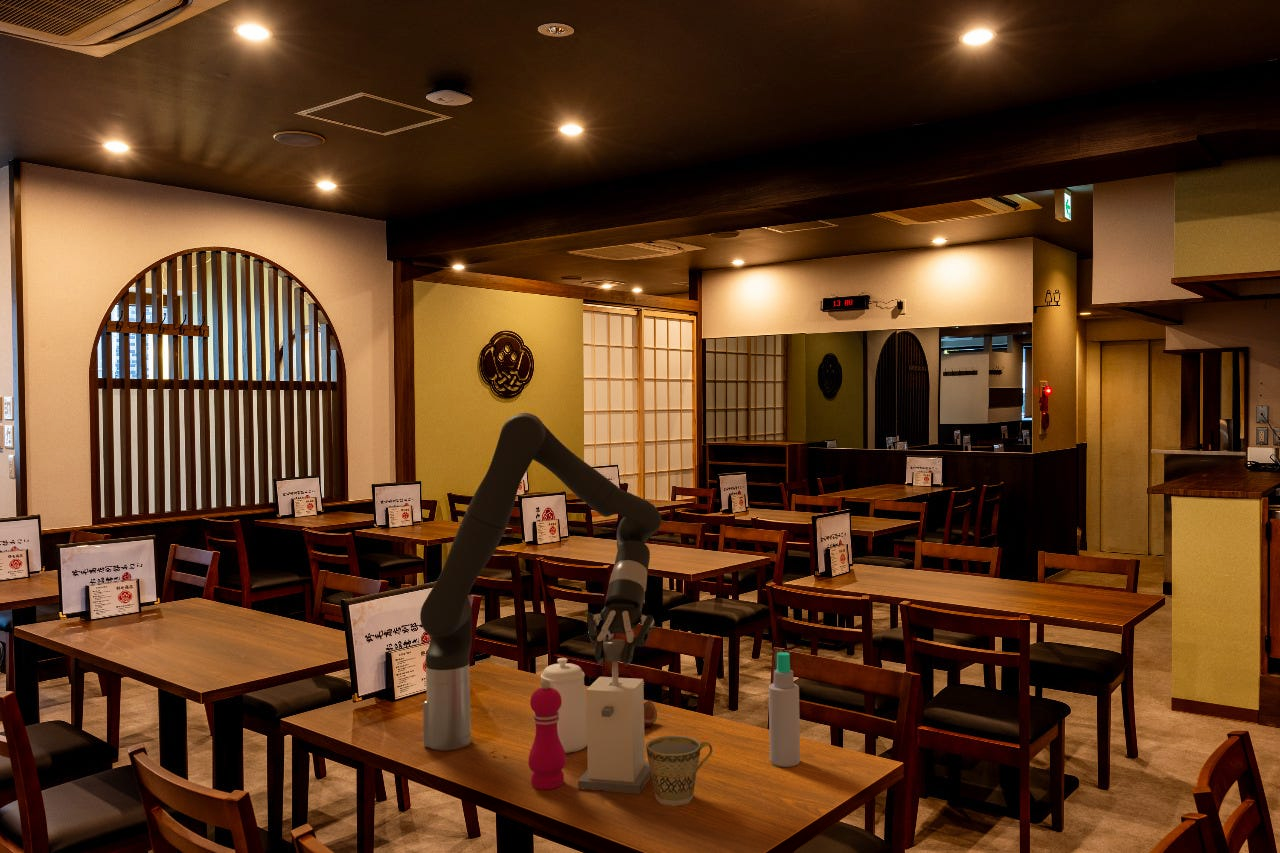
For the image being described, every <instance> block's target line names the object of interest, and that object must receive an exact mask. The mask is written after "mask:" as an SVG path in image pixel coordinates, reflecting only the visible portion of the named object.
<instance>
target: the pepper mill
mask: <svg viewBox="0 0 1280 853" xmlns="http://www.w3.org/2000/svg"><path fill="white" fill-rule="evenodd" d="M540 686H541V687H542V688H541V687H540V688H538V689H536V690H535V691H533V692H532V694H531V696H530V700H529V701H530V702H529V705H530V707H531V710H532V711H533V712H534V713H533V715H532V717H533V719H532V720H533V723H535V736H534V740H533V742H532V746H531V748H530V751H529V754H528V767H529V769H530V770H531V771H532V773H531V775H530V777H531V778H530V779H531V780H530V782H531V783H530V784H531V786H532V787H533V788H535V789H539V790H553V789H557V788H559V787H561V786H563V785H564V783H565V774H564V772H563V771H562V770H563V769H564V768H565V766H566V763H567V758H566V757H567V756H566V753H565V752H564V749H563V746H562V744H561V742H560V739H559V736H558V731H557V722H558V721H559V712H557V711H558V710H559V709H560V707H561V704H562V700H561V696H560V693H559V692H558V691H557V690H556V689H554V688H550V682H549V681H548V680H544V681H542V680H541V682H540Z"/></svg>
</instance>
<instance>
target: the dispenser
mask: <svg viewBox="0 0 1280 853" xmlns="http://www.w3.org/2000/svg"><path fill="white" fill-rule="evenodd" d="M644 688H645V686H644V678H633V677H632V678H628V677H618V686H612V676H609V677H608V676H599V677H598V678H597V679H596V680H595V681H594V682H592V684H591V685H589V686H588V688H587V689H586V690H585V698H586V709H587V746H586V748H587V769H586V770H585V772H584V773H583V774H582V775H581V777H580V778H579V779H578V781H577V788H581V789H580V790H587V789H595V790H594V791H599V790H604V791H603V792H613V793H623V794H624V793H625V794H637V795H638V794H639V795H640V794H641V792H642V790H643V789H644V787H645V786H646V784H647V783H648V782H649V780H650V778H651V777H652V776H651V770H650V766H649V761H646V751H645V750H646V749H645V748H646V746H645V745H646V744H645V727H644V703H645V699H644V698H645V697H644ZM649 777H650V778H649ZM646 782H647V783H646ZM582 788H584V789H582Z"/></svg>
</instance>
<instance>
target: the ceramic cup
mask: <svg viewBox="0 0 1280 853" xmlns="http://www.w3.org/2000/svg"><path fill="white" fill-rule="evenodd" d="M645 745H646V746H645V748H646V749H645V750H646V755H647V762H649V766H650V770H651V776H650V777H651V781H652V784H653V785H652V786H653V790H654V796H655V799H656V801H657V802H658V803H659V804H661V805H662V806H663V805H665V806H671V807H677V806H683V805H688V804H690V802H691V801H692V800H693V798H694V793H695V786H696V784H695V783H696V778H697V773H698V771H699V770H700V769H701V767H702V766H703V765H704V764H705V762H706V761H707V760H708V759H709V758H710V757H711V756H712V753H713V746H712V744H710V742H707V741H705V742H704V741H703V742H700V741H698V740H697V739H695V738H692V737H689V736H684V735H664V736H659V737H656V738H652V739H651V740H649V741H647V743H646V744H645ZM707 746H708V748H709V752H708V753H707V755H706V756H704V758H703V759H702V760H701V761H700V755H701V751H702V749H703V748H705V747H707ZM699 762H700V763H699Z"/></svg>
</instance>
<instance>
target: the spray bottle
mask: <svg viewBox="0 0 1280 853" xmlns="http://www.w3.org/2000/svg"><path fill="white" fill-rule="evenodd" d="M790 659H791V657H790V653H789V652H785V651H782V652H781V651H780V652H777V653H776V669H775V670H773V682H772V683H771V684H769V685H768V717H769V718H768V723H769V725H768V728H769V729H768V730H769V733H768V734H769V761H770V763H771V764H773V766H776V767H782V768H791V767H795V766H797V765H799V763H800V762H801V740H800V739H801V738H800V737H801V733H800V731H801V730H800V728H801V727H800V726H801V725H800V724H801V723H800V686H799V685H798V684H796V683H794V682H795V681H794V679H795V678H794V670H791V664H790V663H791V661H790Z"/></svg>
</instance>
